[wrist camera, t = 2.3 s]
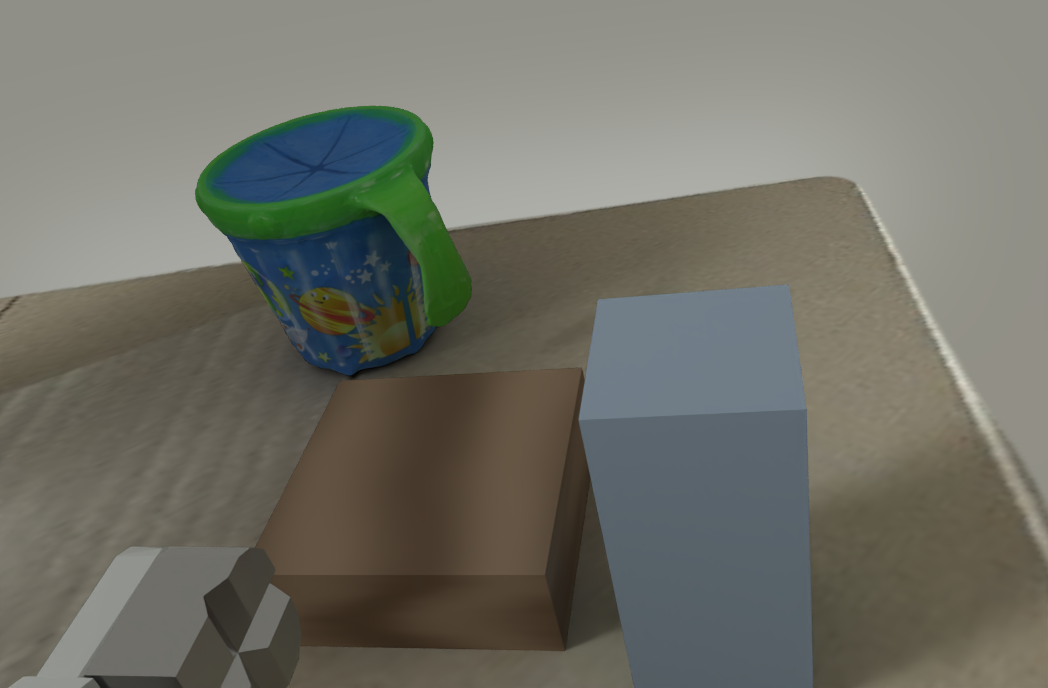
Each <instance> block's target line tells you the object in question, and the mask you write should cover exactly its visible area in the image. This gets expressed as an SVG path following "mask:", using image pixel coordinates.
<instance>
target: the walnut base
mask: <svg viewBox="0 0 1048 688" xmlns="http://www.w3.org/2000/svg"><path fill="white" fill-rule="evenodd" d="M584 383H585V381H584V376H583V371H582V368H565V369H547V370H528V371H510V372H492V373H473V374H455V375H437V376H418V377H400V378H382V379H363V380H345V381H340V382H339V384H338V386H337V388H336V390H335V392H334V394H333V396H332V397H331V399H330V401H329V403H328V405H327V407H326V409H325V411H324V413H323V415H322V417H321V419H320V421H319V423H318V425H317V427H316V429H315V431H314V433H313V435H312V437H311V439H310V441H309V443H308V445H307V447H306V449H305V451H304V452H303V454H302V456H301V458H300V460H299V462H298V464H297V466H296V468H295V470H294V472H293V474H292V476H291V478H290V480H289V482H288V484H287V486H286V488H285V490H284V492H283V494H282V496H281V498H280V500H279V502H278V504H277V505H276V507H275V509H274V511H273V513H272V515H271V517H270V519H269V521H268V523H267V525H266V527H265V529H264V531H263V533H262V535H261V537H260V539H259V541H258V543H257V545H256V547H255V548H260V549H264V550H265V552H266V554H267V555H268V557H269V559H270V561H271V562H272V564H273V566H274V567H275V569H276V570H275V573H274V575H273V577H272V580H271V582H270V583H271V584H272V585H274V586H275V587H276V588H278V589H279V590H281V591H282V592H284V593H285V594H287V595H288V596H289V597H290V598H291V600H292V602H293V604H294V606H295V608H296V610H297V612H298V616H299V621H300V627H301V641H300V646H329V647H383V648H437V649H490V650H544V651H565V648H566V641H567V634H568V627H569V620H570V613H571V606H572V600H573V593H574V586H575V579H576V572H577V565H578V558H579V551H580V544H581V537H582V531H583V524H584V517H585V510H586V503H587V496H588V489H589V482H590V472H589V468H588V463H587V458H586V453H585V449H584V444H583V439H582V434H581V429H580V425H579V414H580V408H581V402H582V396H583V390H584Z"/></svg>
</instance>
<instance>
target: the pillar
mask: <svg viewBox="0 0 1048 688" xmlns="http://www.w3.org/2000/svg"><path fill="white" fill-rule="evenodd" d="M579 425H580V429H581V434H582V439H583V444H584V449H585V453H586V458H587V463H588V468H589V472H590V477H591V482H592V487H593V492H594V496H595V501H596V506H597V511H598V516H599V520H600V525H601V530H602V535H603V540H604V544H605V549H606V554H607V559H608V564H609V568H610V573H611V578H612V583H613V588H614V592H615V597H616V602H617V607H618V612H619V616H620V621H621V626H622V631H623V636H624V640H625V645H626V650H627V655H628V659H629V664H630V669H631V674H632V679H633V683H634V688H813V650H812V609H811V568H810V528H809V487H808V446H807V409H806V402H805V394H804V387H803V380H802V373H801V366H800V359H799V352H798V345H797V338H796V330H795V323H794V316H793V309H792V302H791V295H790V288H789V285H776V286H763V287H751V288H738V289H725V290H712V291H700V292H687V293H674V294H661V295H648V296H636V297H623V298H610V299H598V303H597V309H596V315H595V322H594V328H593V334H592V340H591V346H590V352H589V359H588V365H587V371H586V377H585V383H584V390H583V396H582V402H581V408H580V414H579Z"/></svg>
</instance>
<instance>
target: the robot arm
mask: <svg viewBox="0 0 1048 688" xmlns="http://www.w3.org/2000/svg"><path fill="white" fill-rule="evenodd" d="M275 570H276V569H275V567H274V566H273V564H272V562H271V561H270V559H269V557H268V555H267V554H266V552H265V550H264V549H260V548H251V547H188V546H170V547H138V546H131V547H130V548H128V549H126V550H125V551H123V552H122V553H120V554H119V555H117V556H116V557H115V559H114V560H113V562H112V563H111V565H110V566H109V568H108V569H107V571H106V572H105V574H104V575H103V577H102V578H101V580H100V581H99V583H98V584H97V586H96V587H95V589H94V590H93V592H92V593H91V595H90V596H89V598H88V599H87V601H86V602H85V604H84V605H83V607H82V608H81V610H80V611H79V613H78V614H77V616H76V617H75V619H74V620H73V622H72V623H71V625H70V626H69V628H68V629H67V631H66V632H65V634H64V635H63V637H62V638H61V640H60V641H59V643H58V644H57V646H56V647H55V649H54V650H53V652H52V653H51V655H50V656H49V658H48V659H47V661H46V662H45V664H44V665H43V667H42V668H41V670H40V671H39V673H38V674H37V676H23V677H22V678H21V679H19V680H18V681H17V682H15V683H14V684H12V685H11V686H10V687H8V688H286V687H287V686H288V685H289V683H290V681H291V678H292V675H293V673H294V670H295V668H296V665H297V662H298V660H299V651H300V641H301V627H300V621H299V616H298V612H297V610H296V608H295V606H294V604H293V602H292V600H291V598H290V597H289V596H288V595H287V594H285V593H284V592H282V591H281V590H279V589H278V588H276V587H275V586H274V585H272V584H271V583H270V582H271V580H272V577H273V575H274V573H275Z"/></svg>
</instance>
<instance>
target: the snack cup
mask: <svg viewBox="0 0 1048 688" xmlns="http://www.w3.org/2000/svg"><path fill="white" fill-rule="evenodd" d="M432 150H433V137H432V134H431V132H430V129H429V128H428V126H427V125H426V124H425V123H423V122H422V120H421V119H420V118H419V117H418V116H417V115H415V114H413V113H411V112H409V111H406V110H404V109H400V108H394V107H388V106H358V107H348V108H341V109H334V110H328V111H325V112H319V113H314V114H310V115H306V116H303V117H299V118H296V119H292V120H289V121H287V122H284V123H281V124H278V125H275V126H273V127H270V128H268V129H265V130H263V131H261V132H259V133H257V134H254V135H252V136H250V137H248V138H246V139H244V140H242V141H241V142H238V143H237V144H235V145H233V146H232V147H230V148H228V149H227V150H226V151H224V152H223V153H221V154H220V155H218V156H217V157H216V158H215V159H214V160H212V161H211V162H210V163H209V164H208V166H207V167H206V168H205V169H204V171H203V172H202V173H201V175H200V178H199V179H198V183H197V188H196V190H195V195H196V201H197V204H198V206H199V208H200V209H201V211H202V212H203V213H204V214H205V215H206V216H207V217H208V218H209V220H210V221H211V223H212V224H213V225H214V226H215V227H216V228H218V229H219V230H220V231H221V232H222V233H223V234H224V235H225V236H227V238H228V239H229V241H230V242H231V243H232V245H233V247H234V250H235V252H236V253H237V255H238V256H239V257H240V259H241V261H242V263H243V265H244V266H245V268H246V269H247V271H248V272H249V274H250V276H251V277H252V279H253V281H254V282H255V284H256V286H257V287H258V289H259V291H260V292H261V294H262V295H263V297H264V299H265V300H266V302H267V303H268V305H269V307H270V308H271V310H272V311H273V313H274V314H275V315H276V316H277V317H278V319H279V321H280V323H281V325H282V326H283V328H284V330H285V333H286V335H287V336H288V338H289V339H290V341H291V343H292V344H293V345H294V346H295V347H296V348H297V350H298V351H299V352H300V354H301V355H302V356H303V358H304V359H305V361H307V362H308V363H310V364H312V365H315V366H318V367H320V368H323V369H326V368H329V369H332V370H334V371H337V372H340V373H343V374H345V375H353V374H354V373H356V372H357V371H359V370H361V369H365V368H373V367H379V366H384V365H387V364H389V363H391V362H393V361H396V360H398V359H400V358H402V357H404V356H406V355H408V354H414V353H416V352H417V351H418V350H419V349H420V348H421V347H422V346H423V344H424V342H425V340H426V339H427V338H428V337H429V336H430V335H431V334H432V333H433V332H434V330H435V328H436V327H442V326H445V325H446V324H447V323H449V322H450V321H451V320H452V319H453V318H455V317H456V316H458V315H459V314H460V313H461V312H462V311H463V310H464V309H465V307H466V305H467V303H468V301H469V300H470V298H471V291H472V287H471V278H470V276H469V274H468V271H467V269H466V267H465V265H464V263H463V261H462V259H461V257H460V255H459V254H458V252H457V250H456V248H455V246H454V243H453V241H452V239H451V238H450V236H449V233H448V231H447V229H446V227H445V225H444V223H443V220H442V218H441V216H440V213H439V211H438V209H437V207H436V206H435V204H434V203H433V201H432V199H431V196H430V192H429V187H428V180H427V179H428V173H429V169H430V167H431V155H432Z"/></svg>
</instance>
